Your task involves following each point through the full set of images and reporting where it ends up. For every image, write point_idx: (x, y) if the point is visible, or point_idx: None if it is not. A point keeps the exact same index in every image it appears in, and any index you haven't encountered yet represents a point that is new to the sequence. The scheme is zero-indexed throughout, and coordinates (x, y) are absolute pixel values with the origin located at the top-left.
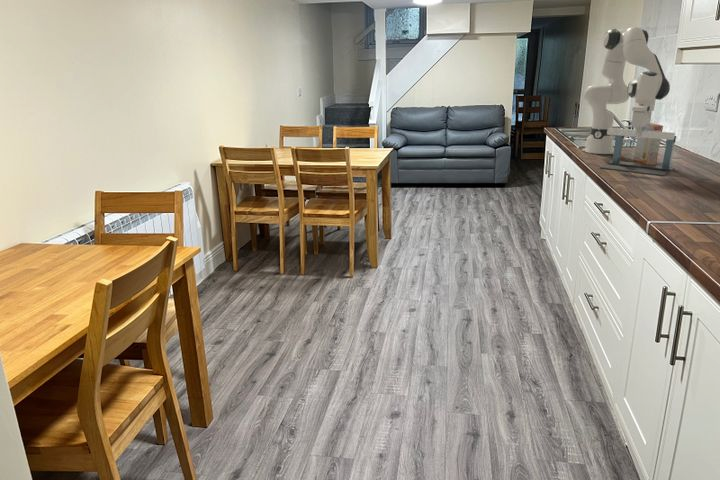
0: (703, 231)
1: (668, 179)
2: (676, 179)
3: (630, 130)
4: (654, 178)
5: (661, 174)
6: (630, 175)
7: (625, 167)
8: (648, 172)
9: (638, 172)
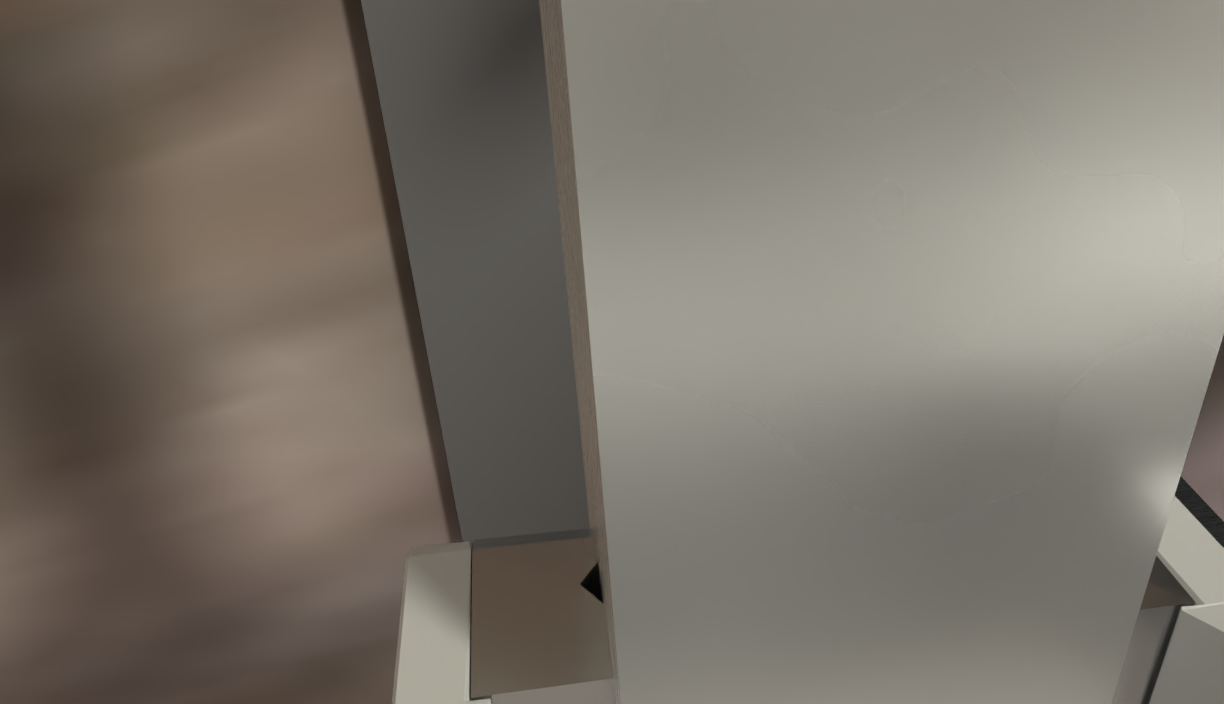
0: None
1: (278, 637)
2: (371, 687)
3: (583, 273)
4: (168, 514)
5: (472, 519)
6: (31, 176)
7: None
8: (482, 344)
9: (400, 202)
